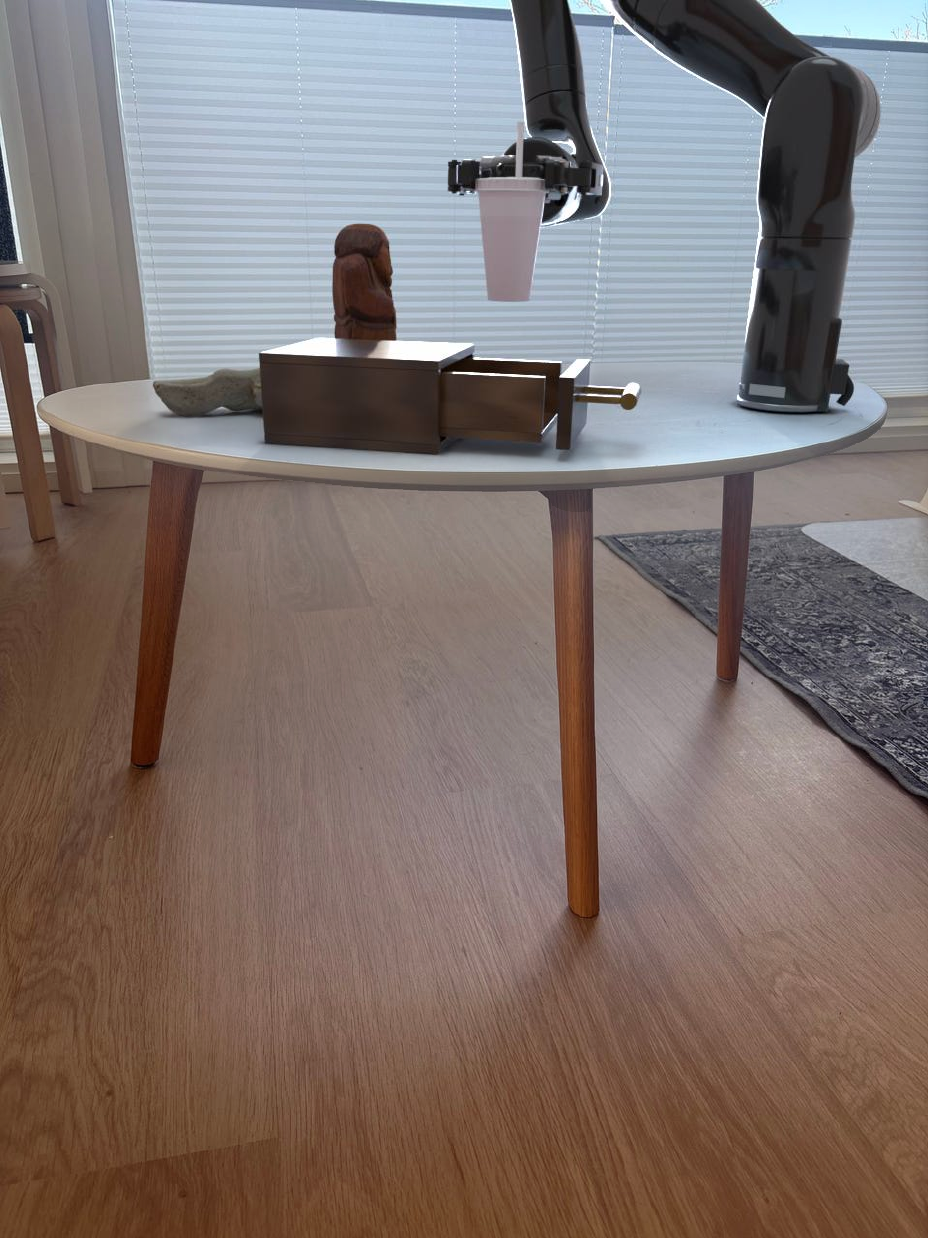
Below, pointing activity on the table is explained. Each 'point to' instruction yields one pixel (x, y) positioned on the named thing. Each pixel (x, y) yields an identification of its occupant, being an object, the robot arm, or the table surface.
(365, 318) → the wooden figurine
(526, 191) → the smoothie
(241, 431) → the table surface
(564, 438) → the drawer
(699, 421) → the table surface
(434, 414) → the cabinet
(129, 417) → the table surface
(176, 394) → the sculpture
